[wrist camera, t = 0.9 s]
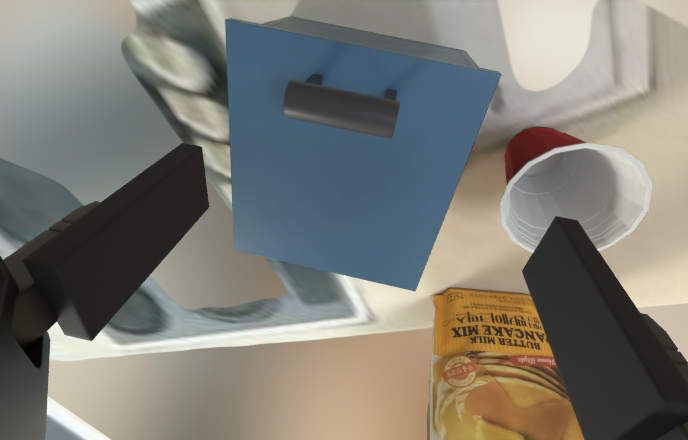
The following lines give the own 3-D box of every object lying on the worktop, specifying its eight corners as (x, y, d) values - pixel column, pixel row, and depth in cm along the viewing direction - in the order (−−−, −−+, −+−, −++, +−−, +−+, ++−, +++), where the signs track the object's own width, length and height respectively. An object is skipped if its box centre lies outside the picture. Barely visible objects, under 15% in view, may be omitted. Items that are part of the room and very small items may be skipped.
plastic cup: (512, 85, 35) (552, 125, 25) (612, 121, 35) (690, 174, 25) (461, 177, 41) (477, 237, 31) (546, 206, 41) (588, 275, 31)
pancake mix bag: (549, 326, 52) (659, 595, 29) (420, 313, 55) (426, 549, 32) (564, 294, 48) (702, 575, 25) (424, 282, 51) (435, 525, 28)
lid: (230, 17, 23) (171, 28, 17) (498, 71, 22) (529, 100, 16) (237, 245, 34) (203, 296, 28) (415, 285, 33) (416, 346, 27)
